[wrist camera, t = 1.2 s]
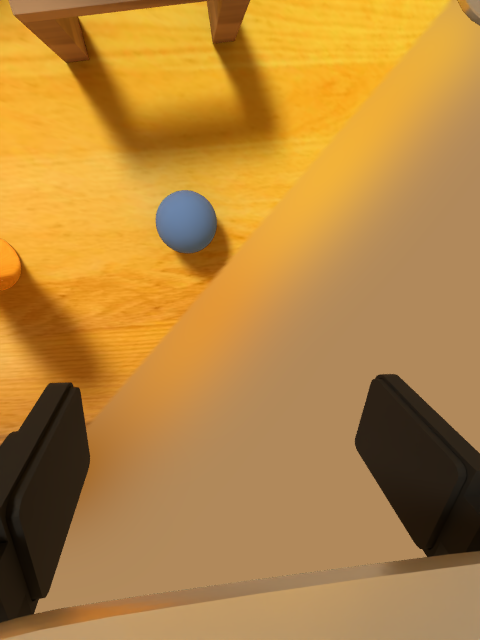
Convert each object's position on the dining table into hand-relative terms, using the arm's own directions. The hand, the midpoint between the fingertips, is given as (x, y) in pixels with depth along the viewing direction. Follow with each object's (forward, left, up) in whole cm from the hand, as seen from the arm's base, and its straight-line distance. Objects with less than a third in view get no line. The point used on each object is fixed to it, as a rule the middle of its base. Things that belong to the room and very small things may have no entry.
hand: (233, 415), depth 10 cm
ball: (+1, -3, -26) cm, 26 cm away
